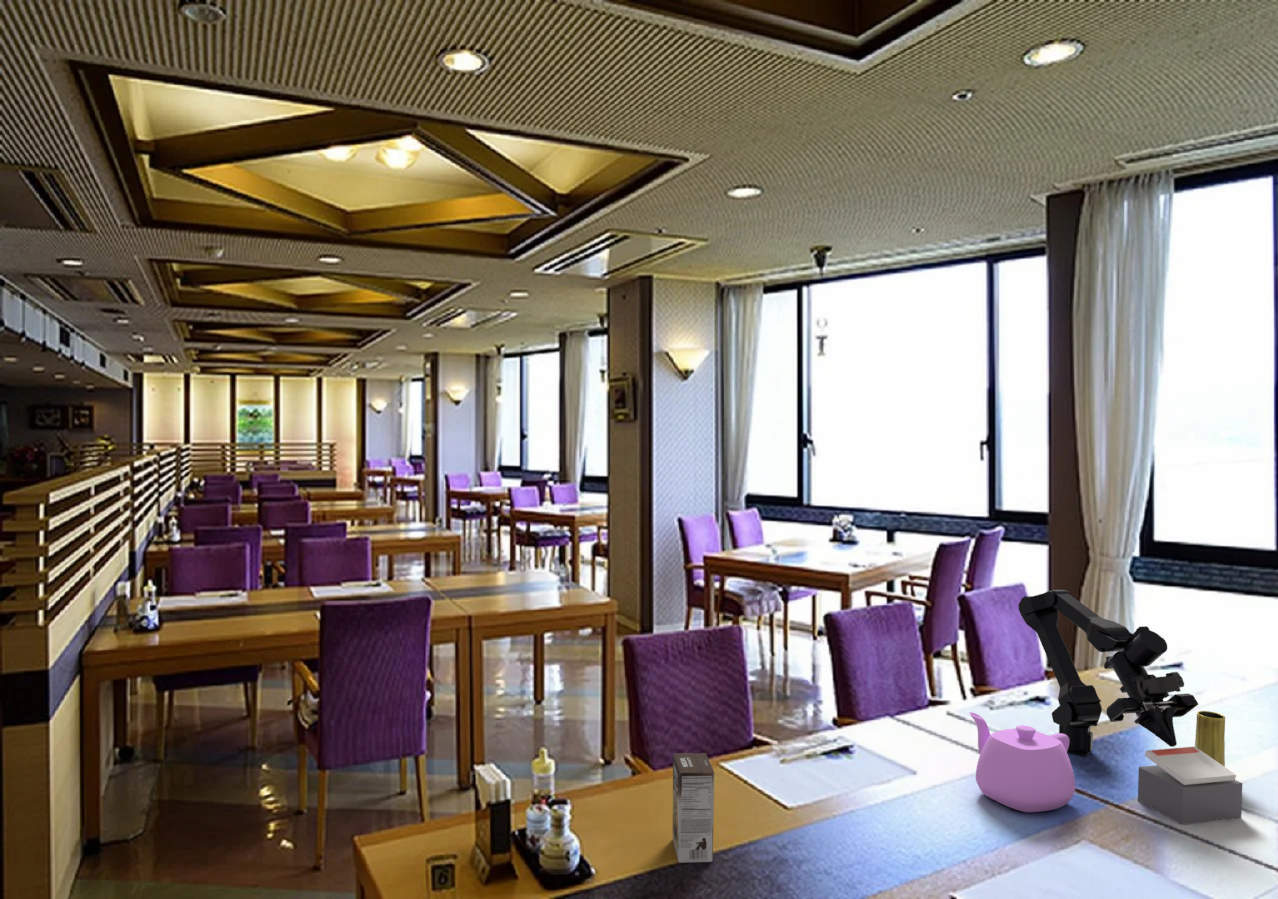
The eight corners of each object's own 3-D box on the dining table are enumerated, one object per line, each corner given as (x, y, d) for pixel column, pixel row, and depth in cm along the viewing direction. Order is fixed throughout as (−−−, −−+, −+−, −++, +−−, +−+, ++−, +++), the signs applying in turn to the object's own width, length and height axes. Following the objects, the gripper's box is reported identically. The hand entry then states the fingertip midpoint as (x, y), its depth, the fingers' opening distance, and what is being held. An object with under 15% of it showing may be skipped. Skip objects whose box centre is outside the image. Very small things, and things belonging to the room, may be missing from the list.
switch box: (1137, 800, 179) (1138, 767, 179) (1194, 795, 182) (1195, 762, 182) (1181, 824, 168) (1182, 788, 168) (1241, 818, 172) (1242, 783, 171)
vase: (1231, 785, 187) (1233, 720, 187) (1199, 783, 188) (1201, 718, 188) (1218, 774, 193) (1220, 711, 193) (1187, 772, 194) (1189, 709, 194)
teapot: (1101, 805, 177) (1102, 731, 177) (1028, 824, 168) (1030, 747, 167) (1009, 765, 198) (1010, 699, 197) (940, 780, 188) (941, 712, 188)
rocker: (1144, 755, 179) (1146, 749, 178) (1193, 751, 181) (1195, 745, 181) (1184, 785, 169) (1185, 778, 169) (1234, 780, 172) (1236, 773, 171)
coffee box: (671, 839, 160) (672, 752, 160) (705, 838, 161) (706, 751, 160) (677, 863, 151) (678, 772, 151) (713, 862, 152) (715, 771, 151)
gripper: (1117, 660, 182) (1158, 731, 171) (1192, 656, 186) (1236, 725, 175) (1089, 686, 190) (1127, 755, 179) (1161, 682, 194) (1202, 749, 183)
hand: (1173, 745), depth 179 cm, fingers closed
